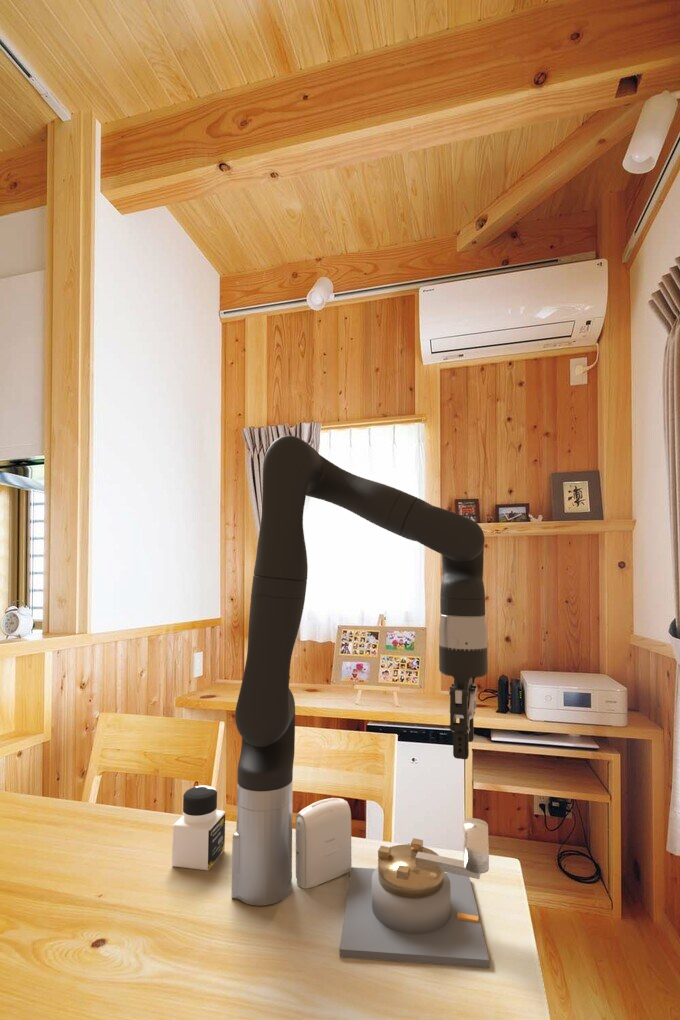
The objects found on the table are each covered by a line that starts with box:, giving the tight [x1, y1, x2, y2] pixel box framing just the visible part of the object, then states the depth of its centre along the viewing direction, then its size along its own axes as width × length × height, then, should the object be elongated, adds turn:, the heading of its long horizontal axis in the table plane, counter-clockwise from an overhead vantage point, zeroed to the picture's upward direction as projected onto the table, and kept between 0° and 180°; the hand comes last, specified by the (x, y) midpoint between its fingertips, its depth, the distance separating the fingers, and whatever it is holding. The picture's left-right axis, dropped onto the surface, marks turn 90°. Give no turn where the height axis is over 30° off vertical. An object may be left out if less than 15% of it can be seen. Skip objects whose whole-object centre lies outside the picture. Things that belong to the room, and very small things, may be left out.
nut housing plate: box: [339, 866, 490, 969], centre depth 83 cm, size 20×20×5 cm
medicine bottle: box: [171, 784, 226, 871], centre depth 99 cm, size 7×7×12 cm
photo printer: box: [295, 797, 352, 890], centre depth 93 cm, size 10×4×12 cm, turn 124°
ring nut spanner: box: [377, 817, 490, 898], centre depth 82 cm, size 17×10×10 cm, turn 68°
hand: (463, 748), depth 84 cm, fingers open, 8 cm apart
